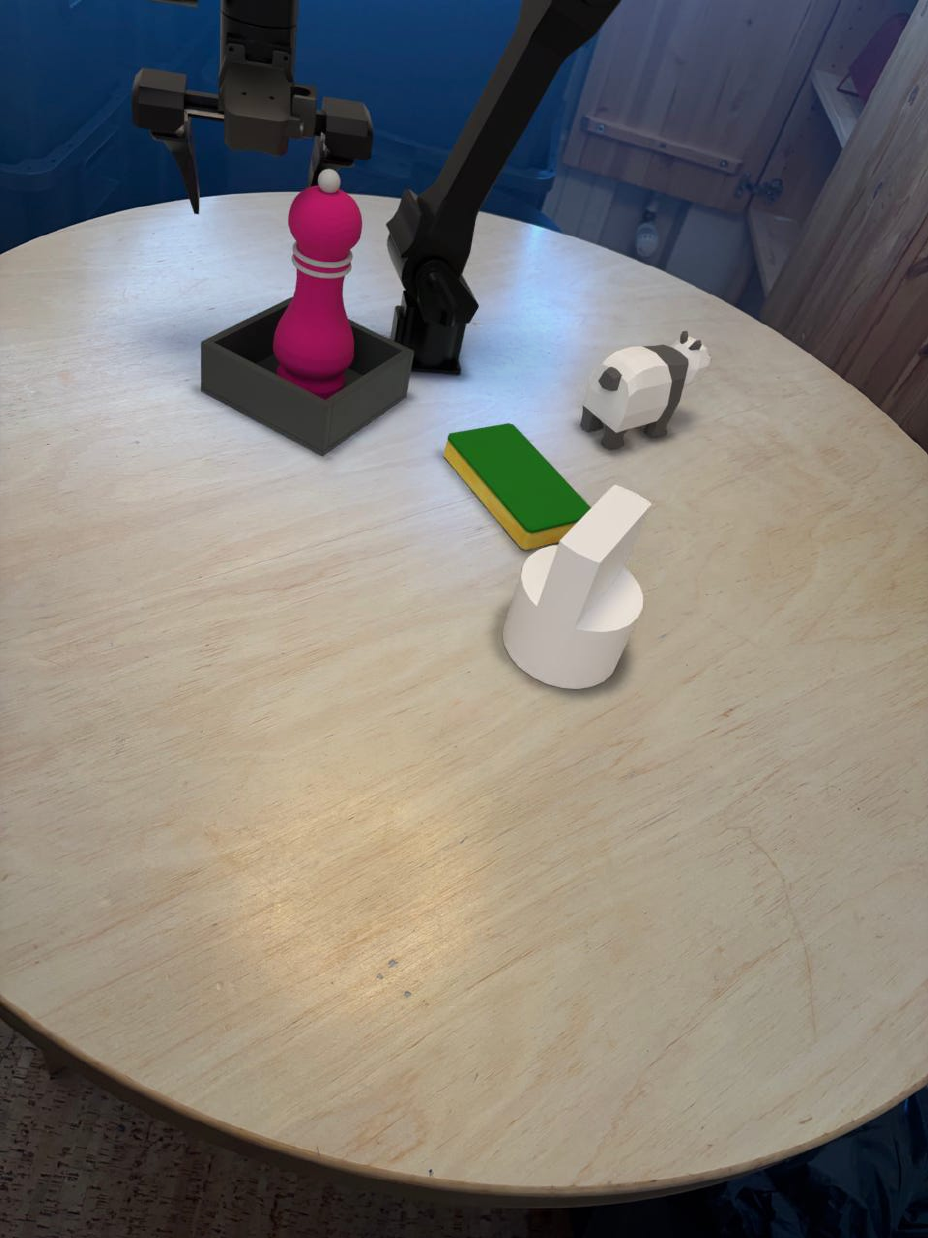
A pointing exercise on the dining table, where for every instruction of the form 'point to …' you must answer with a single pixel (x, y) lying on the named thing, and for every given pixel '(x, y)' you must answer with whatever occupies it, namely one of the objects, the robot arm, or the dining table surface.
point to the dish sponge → (516, 484)
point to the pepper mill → (319, 289)
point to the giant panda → (641, 388)
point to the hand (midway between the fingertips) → (251, 218)
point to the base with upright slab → (579, 597)
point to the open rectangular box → (250, 385)
